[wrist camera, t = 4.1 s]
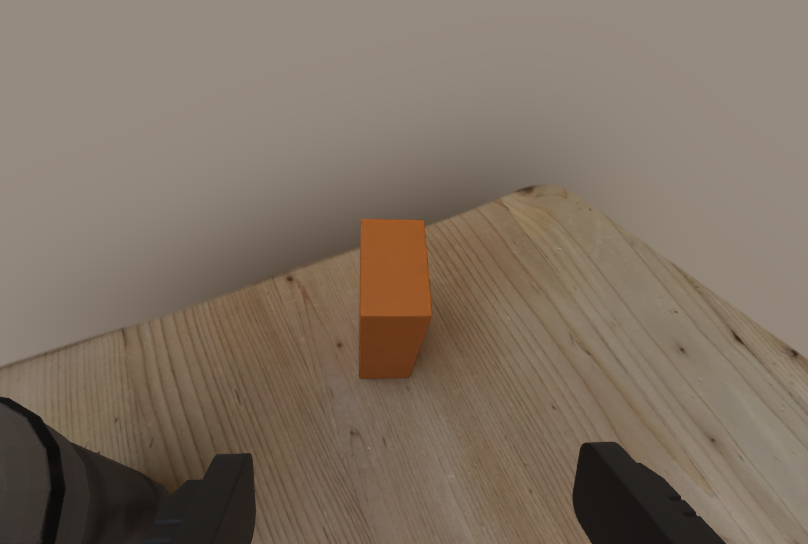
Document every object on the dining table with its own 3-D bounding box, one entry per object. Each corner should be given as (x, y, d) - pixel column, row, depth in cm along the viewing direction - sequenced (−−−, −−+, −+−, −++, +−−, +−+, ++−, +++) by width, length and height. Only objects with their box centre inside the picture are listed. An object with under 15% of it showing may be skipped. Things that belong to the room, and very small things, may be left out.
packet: (359, 378, 24) (360, 316, 17) (359, 302, 27) (360, 217, 19) (409, 378, 25) (433, 316, 17) (405, 303, 27) (424, 219, 20)
